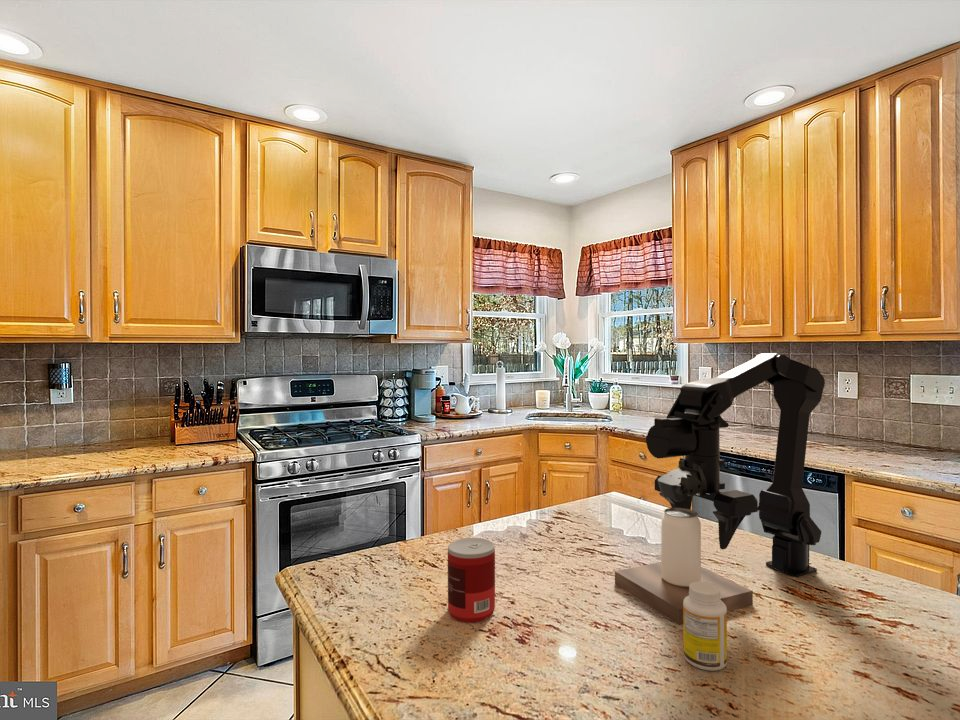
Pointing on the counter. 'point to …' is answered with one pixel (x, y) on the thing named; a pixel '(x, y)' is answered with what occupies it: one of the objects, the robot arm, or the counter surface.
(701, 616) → the supplement bottle
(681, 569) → the can
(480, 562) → the canned food
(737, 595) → the base
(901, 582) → the counter surface
